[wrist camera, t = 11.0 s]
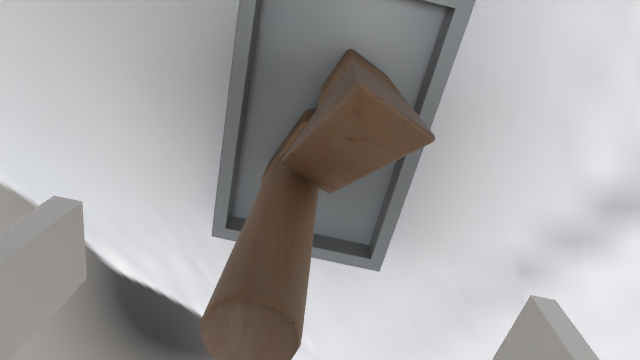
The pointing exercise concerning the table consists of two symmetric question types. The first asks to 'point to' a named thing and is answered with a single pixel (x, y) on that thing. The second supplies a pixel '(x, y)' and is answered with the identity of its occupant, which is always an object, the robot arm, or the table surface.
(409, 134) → the brown tapered wooden part
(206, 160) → the table surface
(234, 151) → the tray
